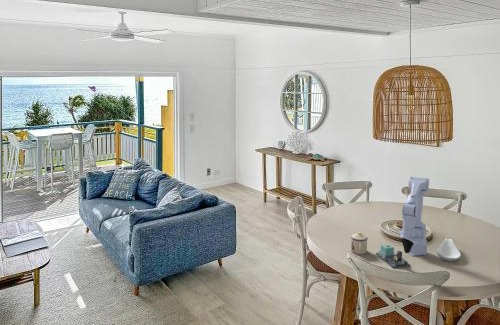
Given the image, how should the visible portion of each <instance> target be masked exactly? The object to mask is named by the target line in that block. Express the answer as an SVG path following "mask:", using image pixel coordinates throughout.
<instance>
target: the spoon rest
mask: <svg viewBox="0 0 500 325" xmlns="http://www.w3.org/2000/svg"><path fill="white" fill-rule="evenodd" d="M436 254H437V256H438V257H439V258H440V259H442V260H444V261H447V262H455V261H458V260H459V259H460V258H461V252H460V250H459V249H458V247H457V246H456V244H455V243H454V240H453V239H452V238H445V240H444V241H443V242H442V243H441V244H440V246H439V247H437V250H436Z"/></svg>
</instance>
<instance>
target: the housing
mask: <svg viewBox="0 0 500 325" xmlns="http://www.w3.org/2000/svg"><path fill="white" fill-rule="evenodd" d="M380 251H381V252H382V253H383V254H384V255H391V254H394V253H395V252H394V251H395V247H394V246H393V245H391V244H390V243H385V244H380Z"/></svg>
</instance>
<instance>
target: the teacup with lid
mask: <svg viewBox="0 0 500 325" xmlns="http://www.w3.org/2000/svg"><path fill="white" fill-rule="evenodd" d="M350 238H351V242H350V243H351V245H350V251H351V253H352V254H356V255H365V254H366V253H368V252H367V250H368V239H369V238H368V236H367V235H366V234H363V233H362V231H358V232H356V233H353V234H352V235H351V236H350Z"/></svg>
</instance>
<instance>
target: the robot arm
mask: <svg viewBox="0 0 500 325" xmlns="http://www.w3.org/2000/svg"><path fill="white" fill-rule="evenodd" d="M408 187H409V189H410V193H409V194H408V195H407V197H406V201H405V204H403V205H402V208H401V210H402V212H401V213H402V229H400V230H398V231H397V234H398V235H399V237H400V241H401V243H402V246H403V251H404V253H405V254H409V255H410V256H412V257H415V256H425V255H428V253H427V252H428V250H427V248H428V241H427V238H426V234H427V226H426V224H425V223H424V222H423V221H422V215H423V205H424V203H423V202H424V195H425V193H428V192H429V190H430V178H428V177H427V178H425V177H416V176H409V179H408Z"/></svg>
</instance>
